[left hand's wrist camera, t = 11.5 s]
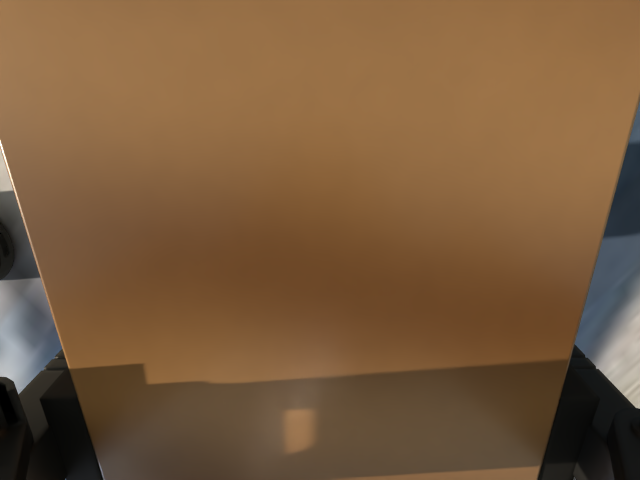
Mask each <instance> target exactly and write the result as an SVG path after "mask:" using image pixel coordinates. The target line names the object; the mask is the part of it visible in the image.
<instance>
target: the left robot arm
mask: <svg viewBox="0 0 640 480" xmlns="http://www.w3.org/2000/svg"><path fill="white" fill-rule="evenodd" d="M574 477H575V479H576V480H640V409H638V408H635V407H634V406H633V405H632V404H631V402H630V401H629V400H628V399H627V398H626V397H625V396H624V395H623V394H622V393H621V392H620V391H619V390H618V389H617V388H616V387H615V386H614V385H613V384H612V383H611V382H610V381H609V380H608V379H607V377H606V376H605V375H604V374H603V373H602V372H601V371H600V370H599V369H596V366H595V365H594V364H593V363H592V362H591V361H590V360H589V359H588V358H585V355H584V354H583V353H582V351H581V350H580V349H579V348H578V347H577V346H576V345H575V344H574V347H573V351H572V355H571V358H570V362H569V366H568V370H567V373H566V377H565V381H564V384H563V388H562V392H561V396H560V399H559V403H558V407H557V410H556V414H555V418H554V422H553V425H552V429H551V433H550V437H549V440H548V444H547V448H546V451H545V455H544V459H543V463H542V466H541V470H540V474H539V477H538V480H573V478H574ZM65 478H66V480H103V477H102V474H101V471H100V468H99V464H98V461H97V458H96V455H95V452H94V448H93V445H92V442H91V439H90V435H89V432H88V429H87V426H86V422H85V419H84V416H83V413H82V410H81V406H80V403H79V400H78V397H77V393H76V390H75V387H74V384H73V381H72V377H71V374H70V371H69V368H68V364H67V361H66V358H65V355H64V351H63V349H62V350H61V351H60V352H59V353H58V354H57V355H56V356H55V359H52V360H51V361H50V362H49V363H48V364H47V365H46V366H45V367H44V371H41V372H40V373H39V374H38V375H37V376H36V377H35V378H34V379H33V380H32V381H31V382H30V383H29V384H28V385H27V386H26V387H25V388H24V389H23V391H22V392H21V393H20V394H19V395H18V392H17V390H16V387H15V384H14V382H13V381H12V380H10V379H8V378H7V377H0V480H65Z"/></svg>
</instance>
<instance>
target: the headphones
mask: <svg viewBox="0 0 640 480" xmlns="http://www.w3.org/2000/svg"><path fill="white" fill-rule="evenodd" d="M13 261H14V250H13V246H12V242H11V240H10V238H9V236H8V234H7V231H6V230H5V229H4V228H3V226H2V225H1V224H0V280H1V279H2V278H4V277H5V276H6V275H7V274H8V273H9V271H10V269H11V268H12V265H13Z"/></svg>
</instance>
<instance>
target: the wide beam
mask: <svg viewBox="0 0 640 480" xmlns="http://www.w3.org/2000/svg"><path fill="white" fill-rule="evenodd" d="M639 101H640V0H0V148H1V151H2V155H3V158H4V161H5V164H6V168H7V171H8V174H9V177H10V180H11V184H12V187H13V190H14V193H15V197H16V200H17V203H18V206H19V209H20V213H21V216H22V219H23V222H24V226H25V229H26V232H27V235H28V239H29V242H30V245H31V248H32V251H33V255H34V258H35V261H36V264H37V268H38V271H39V274H40V277H41V280H42V284H43V287H44V290H45V293H46V297H47V300H48V303H49V306H50V310H51V313H52V316H53V319H54V322H55V326H56V329H57V332H58V335H59V339H60V342H61V345H62V348H63V351H64V355H65V358H66V361H67V364H68V368H69V371H70V374H71V377H72V381H73V384H74V387H75V390H76V393H77V397H78V400H79V403H80V406H81V410H82V413H83V416H84V419H85V422H86V426H87V429H88V432H89V435H90V439H91V442H92V445H93V448H94V452H95V455H96V458H97V461H98V464H99V468H100V471H101V474H102V477H103V480H538V477H539V474H540V470H541V466H542V463H543V459H544V455H545V451H546V448H547V444H548V440H549V437H550V433H551V429H552V425H553V422H554V418H555V414H556V410H557V407H558V403H559V399H560V396H561V392H562V388H563V384H564V381H565V377H566V373H567V370H568V366H569V362H570V358H571V355H572V351H573V347H574V343H575V340H576V336H577V332H578V329H579V325H580V321H581V317H582V314H583V310H584V306H585V302H586V299H587V295H588V291H589V288H590V284H591V280H592V276H593V273H594V269H595V265H596V262H597V258H598V254H599V250H600V247H601V243H602V239H603V235H604V232H605V228H606V224H607V221H608V217H609V213H610V209H611V206H612V202H613V198H614V195H615V191H616V187H617V183H618V180H619V176H620V172H621V168H622V165H623V161H624V157H625V154H626V150H627V146H628V142H629V139H630V135H631V131H632V127H633V124H634V120H635V116H636V113H637V109H638V105H639Z"/></svg>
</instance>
